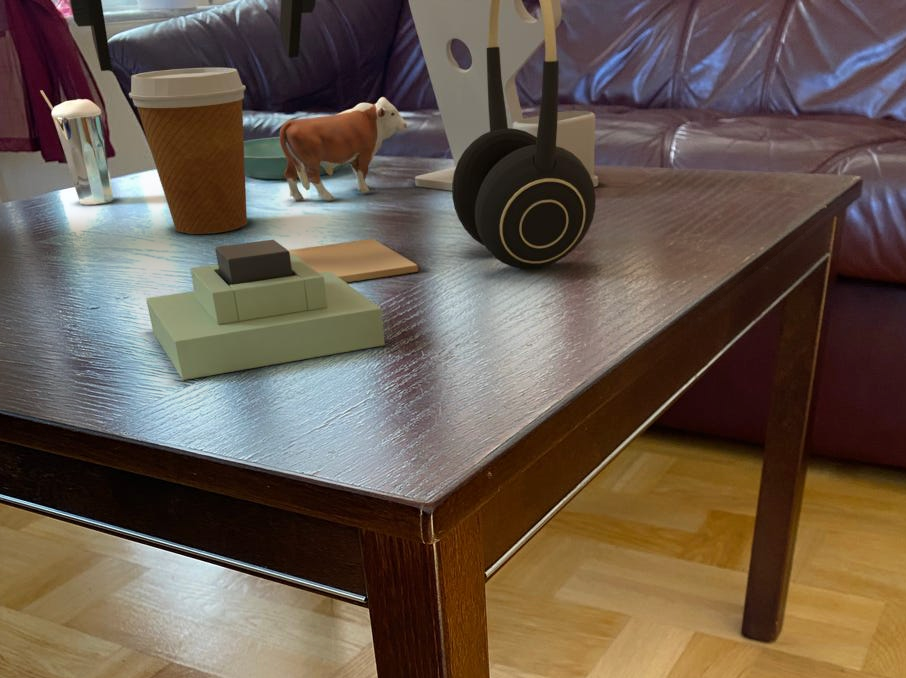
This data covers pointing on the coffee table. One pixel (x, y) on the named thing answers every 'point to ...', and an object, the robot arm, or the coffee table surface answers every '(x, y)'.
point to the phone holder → (466, 91)
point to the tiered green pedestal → (262, 321)
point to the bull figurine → (336, 144)
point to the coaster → (356, 260)
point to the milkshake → (84, 148)
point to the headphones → (523, 173)
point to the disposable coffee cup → (196, 144)
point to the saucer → (268, 159)
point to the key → (253, 262)
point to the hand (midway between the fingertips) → (198, 48)
